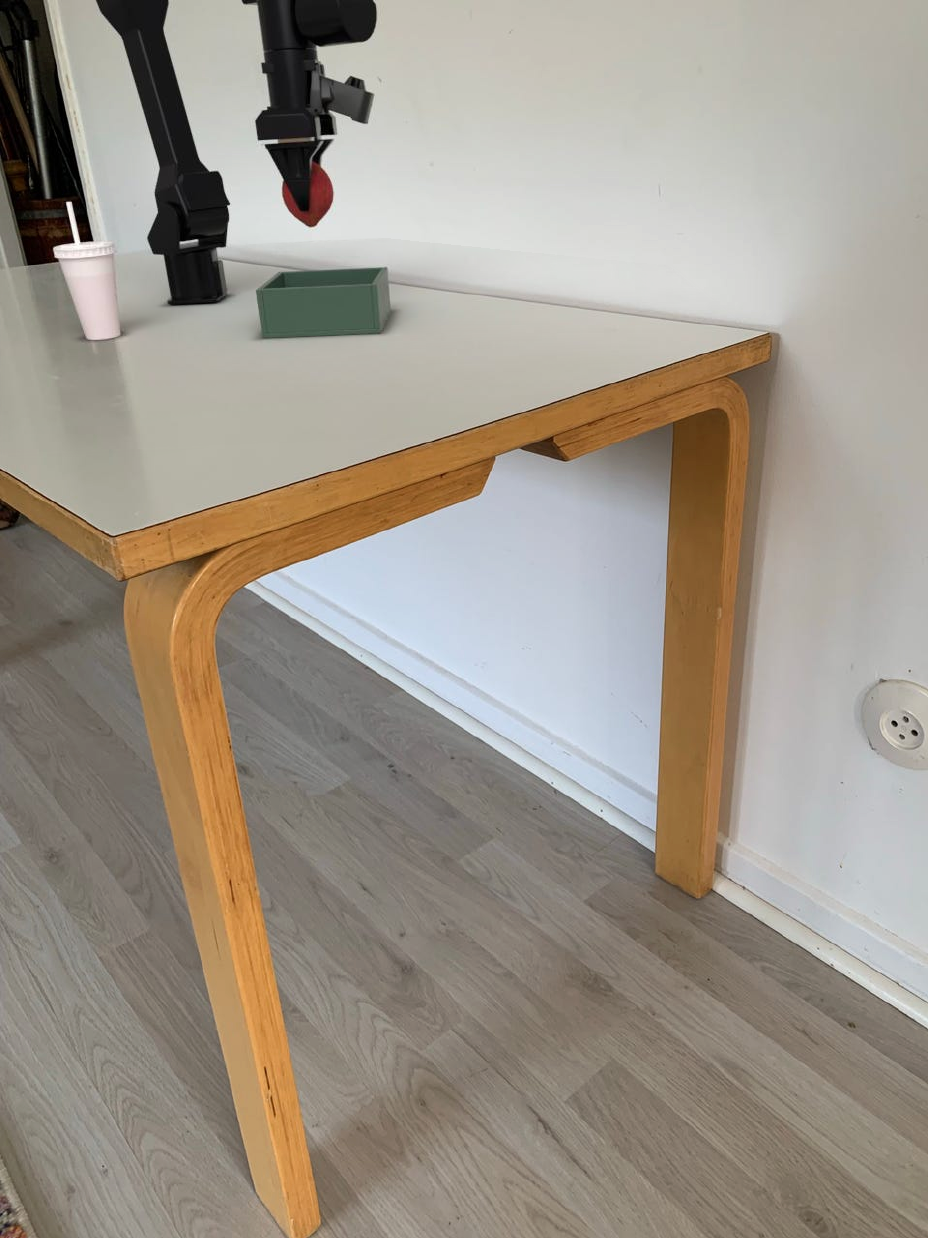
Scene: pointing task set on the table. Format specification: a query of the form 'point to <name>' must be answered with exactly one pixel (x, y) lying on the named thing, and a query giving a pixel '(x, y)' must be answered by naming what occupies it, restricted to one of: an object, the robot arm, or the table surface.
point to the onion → (312, 198)
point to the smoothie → (91, 283)
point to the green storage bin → (324, 302)
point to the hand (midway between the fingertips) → (308, 208)
